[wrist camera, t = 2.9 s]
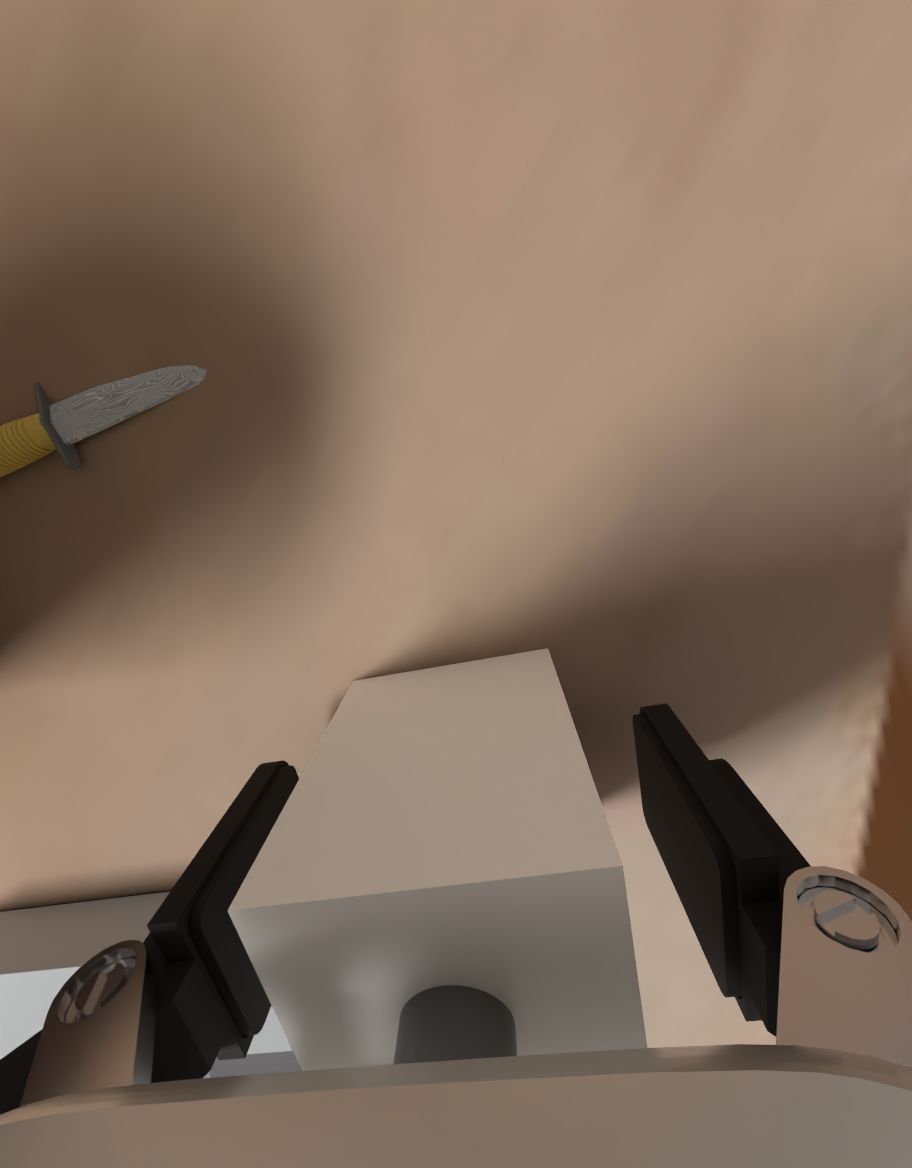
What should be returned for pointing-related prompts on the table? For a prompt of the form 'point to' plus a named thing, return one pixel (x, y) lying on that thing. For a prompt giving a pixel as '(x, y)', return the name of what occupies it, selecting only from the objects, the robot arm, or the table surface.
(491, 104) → the table surface
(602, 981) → the plug
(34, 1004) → the socket
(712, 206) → the table surface
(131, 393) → the dagger
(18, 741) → the table surface
